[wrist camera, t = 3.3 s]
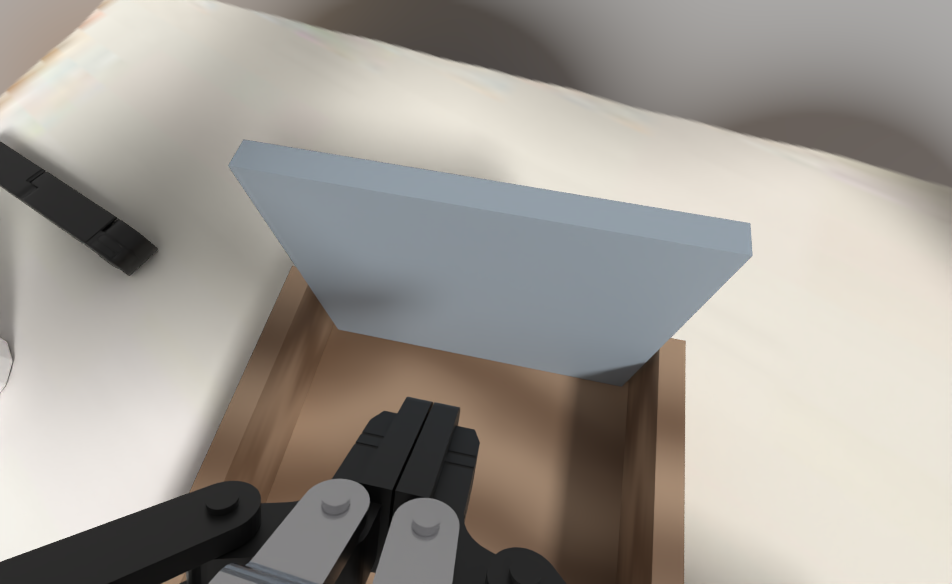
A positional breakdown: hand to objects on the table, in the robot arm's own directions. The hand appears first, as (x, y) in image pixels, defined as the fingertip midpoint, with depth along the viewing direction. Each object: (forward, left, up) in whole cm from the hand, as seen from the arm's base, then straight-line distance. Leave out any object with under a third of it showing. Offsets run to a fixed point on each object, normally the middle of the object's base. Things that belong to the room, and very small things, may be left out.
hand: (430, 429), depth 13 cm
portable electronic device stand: (+8, -33, -15) cm, 37 cm away
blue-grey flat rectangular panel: (-6, -5, -13) cm, 15 cm away
